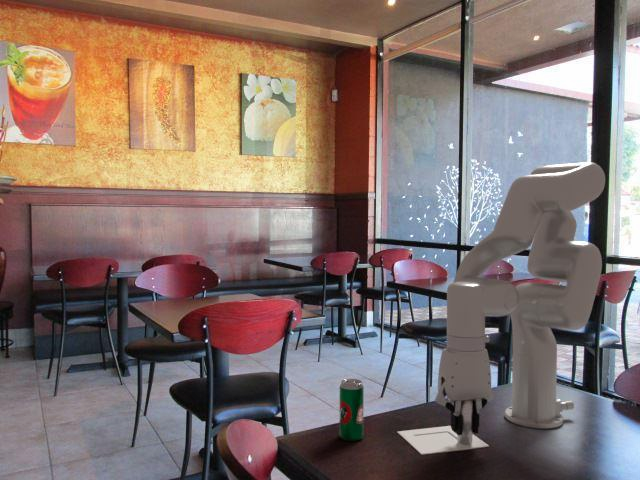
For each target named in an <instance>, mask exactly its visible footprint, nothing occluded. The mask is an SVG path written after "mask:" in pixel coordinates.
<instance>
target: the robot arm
mask: <svg viewBox="0 0 640 480" xmlns="http://www.w3.org/2000/svg"><path fill="white" fill-rule="evenodd" d="M605 185H606V174H605V172H604V170H603V168H602V167H601V166H600V165H599V164H597V163H595V162H593V161H592V162H590V161H586V162H585V161H584V162H574V163H573V162H572V163H561V164H559V163H558V164H549V165H544V166H540V167H539V166H538V167H537V168H535V169H534V170H533V171H531V173H530V174H527V175H523V176H519V177H518V178H516V179H515V180H513V182H512V183H511V185H510V187H509V189H508V192H507V194H506V197H505V199H504V202H503V205H502V206H501V207H502V208H501V209H500V212H499V215H498V218H497V220H496V221H495V225H494V227H493V230H492V231H491V232H490V233H489V234H488V235H486V236H485V237H484V238H482V239H481V240H480V241H479V242H477V244H476V245H475V246H473V247H472V249H470V250H469V251H468V252H467V253H466V254H465V256H464V257H463V258H462V260H461V262H460V264H459V266H458V268H457V271H456V273H455V276H454V279H453V282H451V283H450V284H448V286H447V289H446V347H445V348H442V352H441V355H440V360H439V366H438V376H437V377H438V378H437V395H436V396H435V398H434V401H435V403H437V404H438V405H440V406H442V407H444V408H445V409H447V410H448V412H449V413H450V426H451V428H452V431H453V432H455V433H456V434H457V435H462V431H463V417H462V416H461V415H460V408H461V401H462V400H472V399H473V434H474V435H475V434H479V427H480V414H482V413H483V409H484V408H485V406H486V405H487V404H488V403H490V402H491V401H493V399H495V397H496V395H495V393H494V391H493V389H492V374H491V373H492V369H491V363H490V357H489V353H488V349H487V348H486V343H489V342H490V340H491V338H490V336H489V335H486V317H505V316H508V315H510V320H511V327H512V369H511V370H512V372H511V373H512V383H511V385H512V386H511V390H512V391H511V393H512V394H511V406H509V407H507V408H506V409H505V411H504V416H505V419H507V420H508V421H509V422H511V423H512V424H515V425H519V426H523V427H525V428H530V429H531V428H532V429H542V430H543V429H553V428H558V427H560V426H562V425H563V424H564V416H563V415H562V414H561V413H562V412H563V411H571V410H574V409H575V404H574V402H573V401H572V400H567V401H562V400H561V399H560V398H559V399H558V398H557V376H558V372H557V370H558V367H557V366H558V365H557V364H558V344H557V340H556V337H555V335H554V334H553V333H554V332H553V331H552V328H553V329H559V330H564V331H579V330H582V329H583V328H584V327H585V326H586V325H587V324H588V321H589V319H590V316H591V313H592V310H593V306H594V301H595V298H596V295H597V291H598V288H599V283H600V279H601V275H602V268H603V259H602V254H601V252H600V249H599V248H598V246H596V245H595V244H594V243H593V242H592V243H591V242H590V241H584V240H575V237H576V232H577V221H576V218H575V216H574V214H573V213H572V211H574V210H576V209H578V208H581V207H583V206H584V205H586V204H589V203H591V202H593V201H595V200H596V199H597V198H599V196H601V194H602V193H603V191H604V189H605ZM530 247H531V248H530ZM529 248H530V249H529ZM527 249H529V254H528V259H527V271H528V273H529V275H530V276H532V277H533V278H536V279H539V280H543V281H550V282H551V281H552V282H560V283H566V285H562V284H561V285H559V284H552V283H544V282H543V283H542V282H533V281H532V282H531V281H528V282H522V283H519V284H517V285H514V284H513V283H511V282H509V281H506V280H502V279H494V278H485V277H482V276H483V275H484V273H485V272H486V271H487V270H488V269H489V268H491V266H493V265H494V264H495V263H498V262H500V261H501V260H504V259H506V258H509V257H512V256H515V255H517V254H519V253H522V252H524V251H525V250H527Z"/></svg>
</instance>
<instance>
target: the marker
mask: <svg viewBox="0 0 640 480" xmlns="http://www.w3.org/2000/svg"><path fill="white" fill-rule="evenodd" d="M460 415H461V416H462V417H463V431H462V435H457V442H458V443H460V444H463V445H470V444H472V436H473V435H474V432H473V399H472V400H462V401H461V408H460Z"/></svg>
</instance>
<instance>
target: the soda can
mask: <svg viewBox="0 0 640 480" xmlns="http://www.w3.org/2000/svg"><path fill="white" fill-rule="evenodd" d="M364 391H365V390H364V385H363V382H362V380H360V379H356V378H344V379H342V380H341V383H340V385H339V437H340V438H341V439H342V440H343V441H346V442H347V441H348V442H356V441H359V440H362V438H363V437H364V407H365V406H364V403H365V402H364V396H365V395H364Z"/></svg>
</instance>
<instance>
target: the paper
mask: <svg viewBox="0 0 640 480" xmlns="http://www.w3.org/2000/svg"><path fill="white" fill-rule="evenodd" d="M397 434H398V435H399V436H401V437H402V438H403V439H404V440H405V441H406V442H407V443H408V444H409V445H410V446H412V448H414V449H415V450H416V451H417V452H418V454H419V455H421V456H425V455H432V454H433V455H434V454H440V453H449V452H455V451H456V452H457V451H466V450H473V449H480V448H489V447H490V445H489V444H487V443H486V442H484V441H483V440H482V439H481V438H479V437H478V436H476V435H475V434H473V436H472V444H470V445H463V444H460V443H458V442H457V434H456V433H455V432H453V431H452V428H451V425H446V426H436V427H427V428H415V429H409V430H401V431H397Z"/></svg>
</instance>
